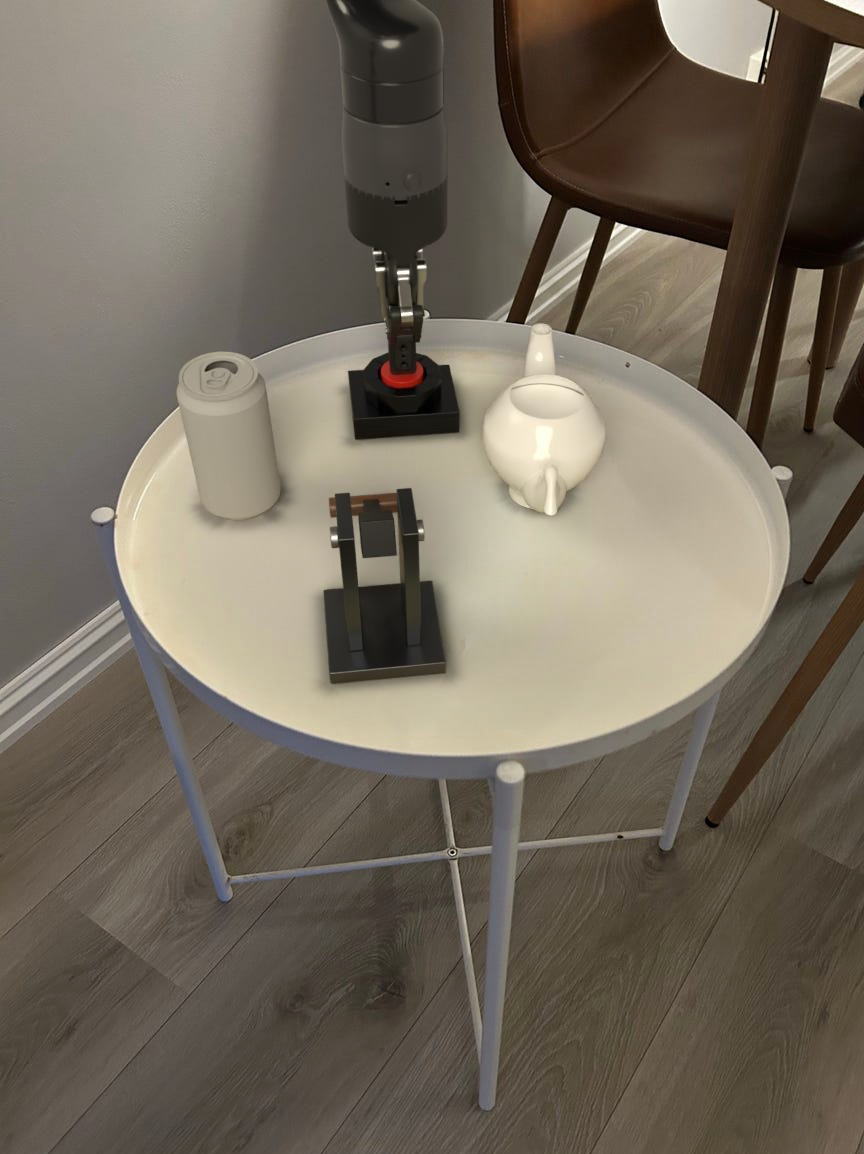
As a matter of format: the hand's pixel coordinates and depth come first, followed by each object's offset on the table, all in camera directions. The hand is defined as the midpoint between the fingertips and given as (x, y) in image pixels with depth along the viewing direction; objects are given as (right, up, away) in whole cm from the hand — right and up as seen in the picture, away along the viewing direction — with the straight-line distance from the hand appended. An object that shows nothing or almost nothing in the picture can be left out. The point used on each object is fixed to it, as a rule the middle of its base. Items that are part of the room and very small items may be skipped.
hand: (402, 369), depth 91 cm
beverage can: (-13, -12, -5) cm, 18 cm away
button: (0, -1, +1) cm, 2 cm away
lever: (-1, -16, -17) cm, 23 cm away
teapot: (+11, -11, -3) cm, 16 cm away
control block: (0, -3, +3) cm, 4 cm away
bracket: (0, -23, -14) cm, 27 cm away
